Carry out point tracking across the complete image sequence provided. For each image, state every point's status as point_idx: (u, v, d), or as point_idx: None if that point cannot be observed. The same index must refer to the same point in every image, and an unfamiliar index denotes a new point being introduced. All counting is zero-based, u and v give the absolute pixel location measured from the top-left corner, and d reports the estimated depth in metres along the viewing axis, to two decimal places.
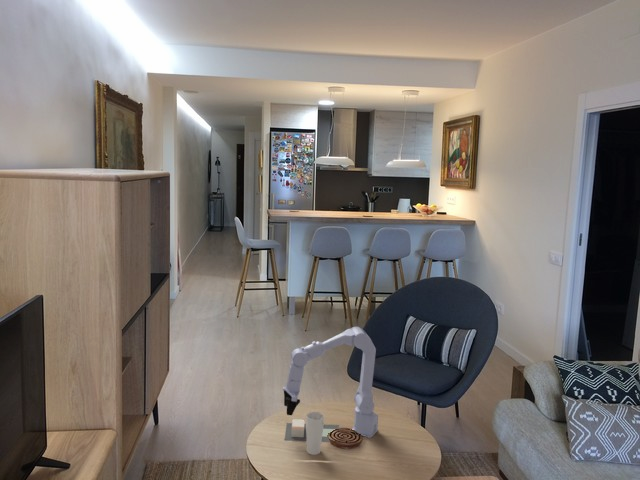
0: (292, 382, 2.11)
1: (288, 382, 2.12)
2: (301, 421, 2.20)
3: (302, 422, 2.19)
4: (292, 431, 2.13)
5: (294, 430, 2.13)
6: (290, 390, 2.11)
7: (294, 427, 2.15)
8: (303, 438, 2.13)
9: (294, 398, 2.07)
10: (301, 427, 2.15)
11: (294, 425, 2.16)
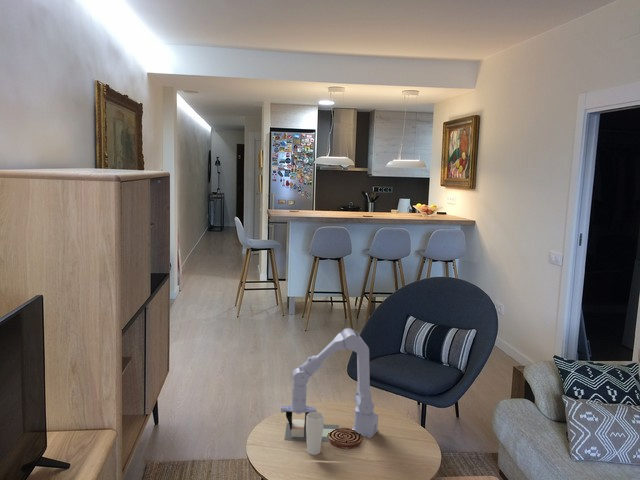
0: (305, 400, 2.15)
1: (302, 403, 2.14)
2: (301, 421, 2.20)
3: (302, 422, 2.19)
4: (292, 431, 2.13)
5: (294, 430, 2.13)
6: (305, 408, 2.15)
7: (294, 427, 2.15)
8: (303, 438, 2.13)
9: (316, 410, 2.16)
10: (301, 427, 2.15)
11: (294, 425, 2.16)
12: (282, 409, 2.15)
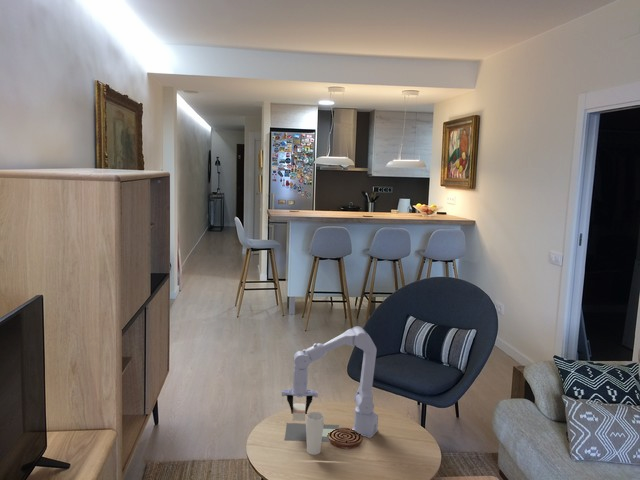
0: (306, 384, 2.14)
1: (303, 387, 2.13)
2: (302, 405, 2.19)
3: (303, 406, 2.18)
4: (293, 415, 2.12)
5: (295, 413, 2.12)
6: (306, 392, 2.14)
7: (295, 411, 2.13)
8: (303, 438, 2.13)
9: (317, 393, 2.16)
10: (302, 411, 2.14)
11: (295, 409, 2.15)
12: (283, 393, 2.14)
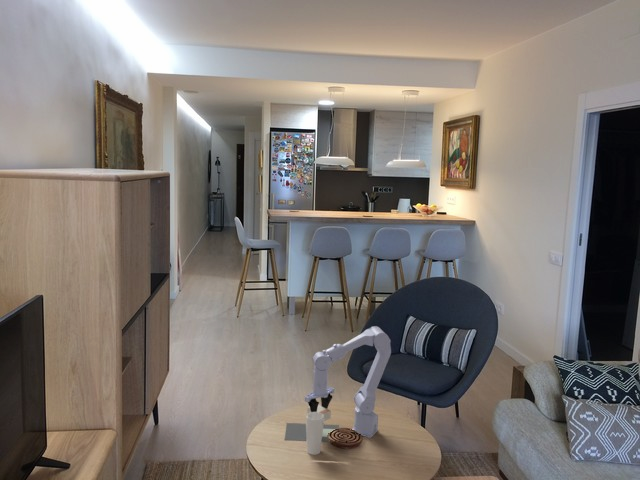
0: None
1: (326, 386, 2.14)
2: None
3: (319, 406, 2.19)
4: None
5: (323, 414, 2.13)
6: None
7: (321, 412, 2.13)
8: (303, 438, 2.13)
9: None
10: (325, 410, 2.16)
11: (318, 411, 2.15)
12: (309, 398, 2.10)
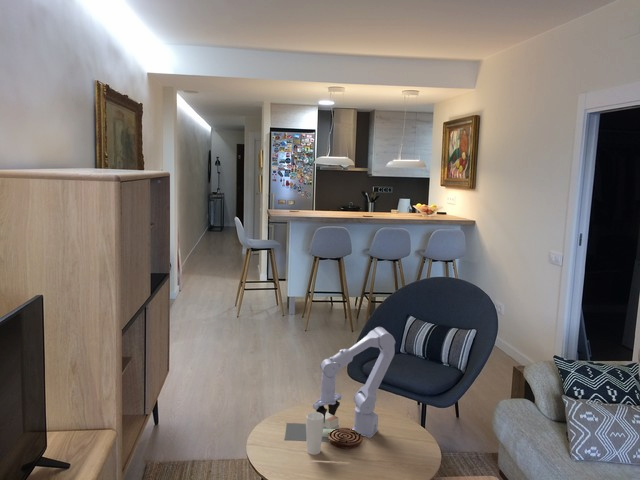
0: None
1: (334, 393, 2.15)
2: None
3: (326, 413, 2.19)
4: (330, 423, 2.13)
5: (332, 421, 2.13)
6: None
7: (329, 419, 2.14)
8: (303, 438, 2.13)
9: None
10: (333, 416, 2.16)
11: (326, 418, 2.15)
12: (317, 405, 2.11)
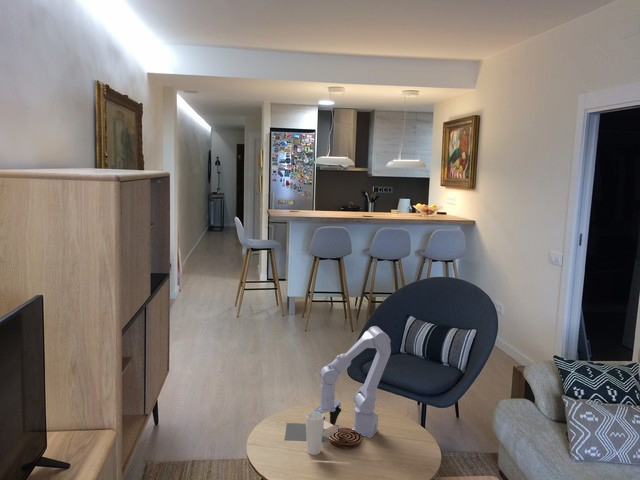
0: None
1: None
2: None
3: (326, 422, 2.20)
4: (330, 433, 2.13)
5: (331, 431, 2.14)
6: None
7: (329, 429, 2.14)
8: (303, 438, 2.13)
9: None
10: (333, 426, 2.17)
11: (326, 427, 2.16)
12: None
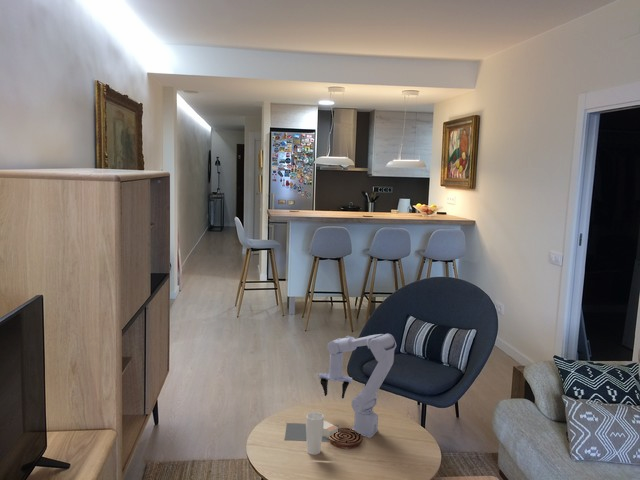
0: (341, 369, 2.29)
1: (337, 372, 2.28)
2: None
3: (326, 422, 2.20)
4: (330, 433, 2.13)
5: (331, 431, 2.14)
6: (340, 377, 2.29)
7: (329, 429, 2.14)
8: (303, 438, 2.13)
9: (351, 380, 2.29)
10: (333, 426, 2.17)
11: (326, 427, 2.16)
12: (320, 376, 2.31)
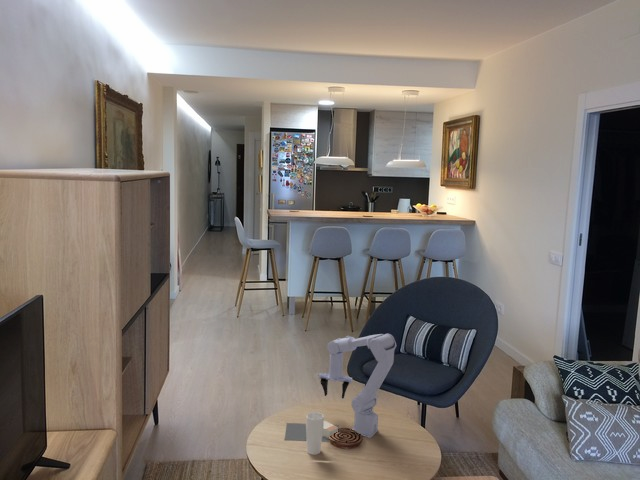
0: (341, 369, 2.29)
1: (337, 372, 2.28)
2: None
3: (326, 422, 2.20)
4: (330, 433, 2.13)
5: (331, 431, 2.14)
6: (340, 377, 2.29)
7: (329, 429, 2.14)
8: (303, 438, 2.13)
9: (351, 380, 2.29)
10: (333, 426, 2.17)
11: (326, 427, 2.16)
12: (320, 376, 2.31)
